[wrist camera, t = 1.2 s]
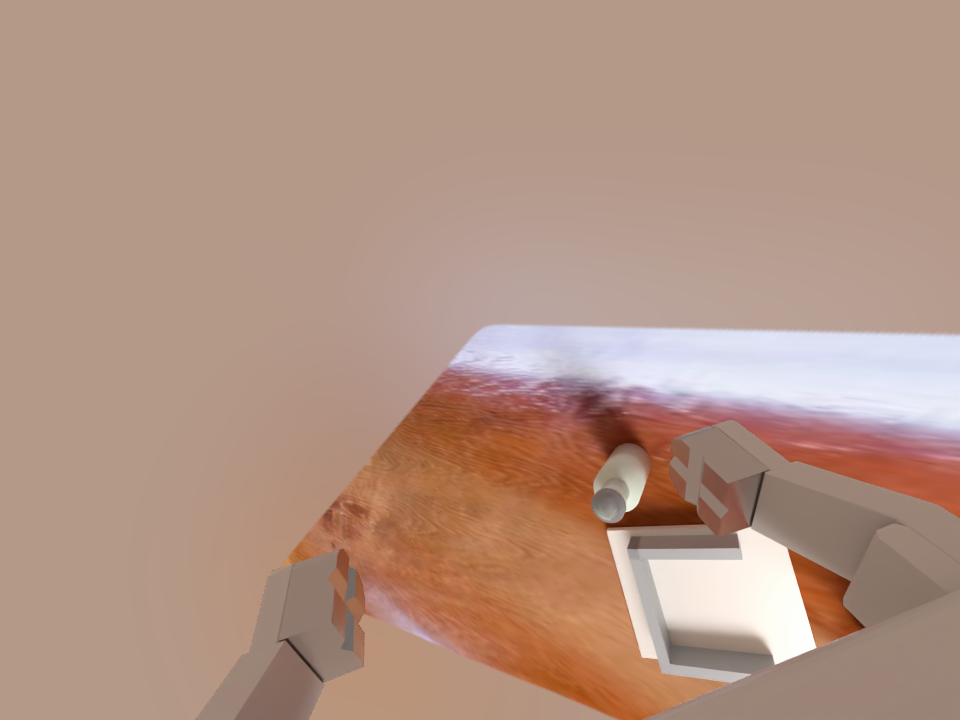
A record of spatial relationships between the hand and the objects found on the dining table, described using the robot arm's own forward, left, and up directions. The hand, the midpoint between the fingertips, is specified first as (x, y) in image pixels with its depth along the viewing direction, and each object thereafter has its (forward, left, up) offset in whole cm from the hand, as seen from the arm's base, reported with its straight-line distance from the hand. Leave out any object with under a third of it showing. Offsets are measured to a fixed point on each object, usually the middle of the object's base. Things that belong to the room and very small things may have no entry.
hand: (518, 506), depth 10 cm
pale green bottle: (+7, +12, -41) cm, 44 cm away
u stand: (+3, +28, -41) cm, 50 cm away
